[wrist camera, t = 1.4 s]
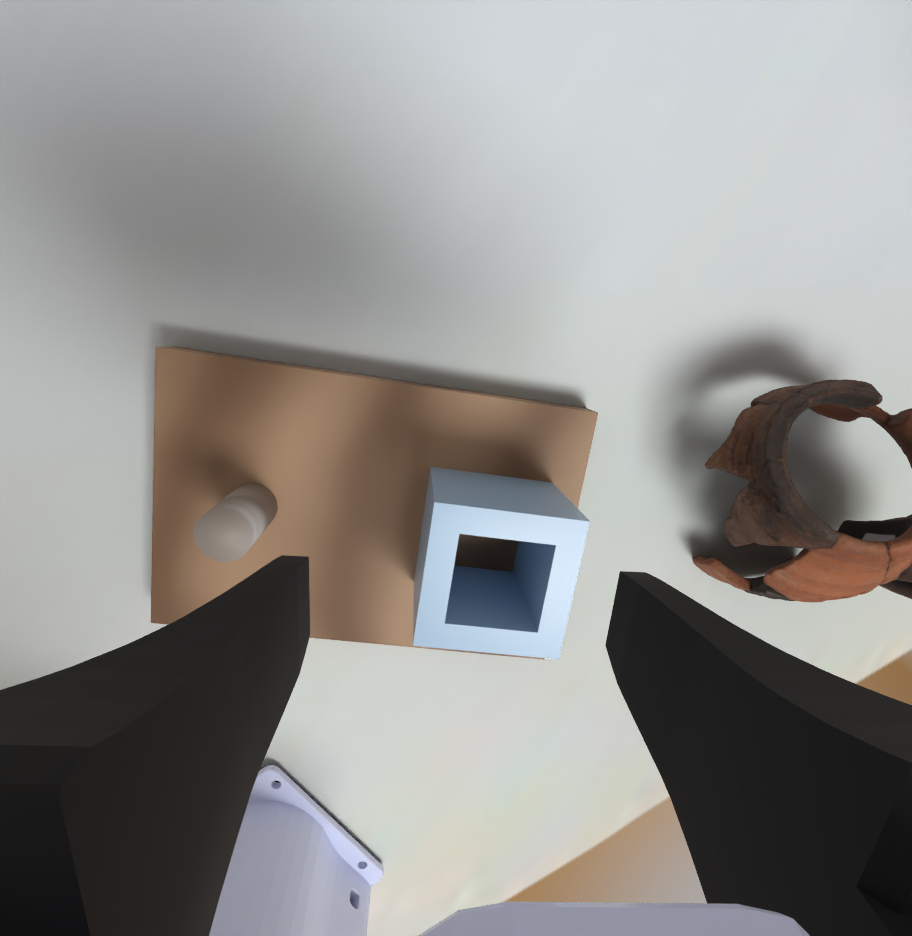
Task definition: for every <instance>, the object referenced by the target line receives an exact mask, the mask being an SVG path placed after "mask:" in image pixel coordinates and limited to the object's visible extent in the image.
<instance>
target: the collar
mask: <svg viewBox="0 0 912 936" xmlns="http://www.w3.org/2000/svg"><path fill="white" fill-rule="evenodd" d="M589 524H590V521H589V520H588V519H587V518H586V517H585V516H584V515H583V514H582V513H581V512H580V511H579V510H578V509H577V508H576V506H575V505H574V504H573V503H572V502H571V501H570V500H569V499H568V498H567V497H566V496H565V495H564V494H563V493H562V492H561V491H560V490H559V489H558V488H557V487H556V486H555V485H554V484H553V483H551V482H544V481H536V480H528V479H521V478H513V477H506V476H498V475H491V474H483V473H475V472H468V471H460V470H453V469H445V468H437V467H430V474H429V481H428V488H427V495H426V501H425V508H424V515H423V522H422V529H421V536H420V543H419V549H418V556H417V563H416V570H415V577H414V599H413V646H420V647H431V648H441V649H452V650H463V651H473V652H484V653H495V654H505V655H516V656H527V657H538V658H548V659H559V657H560V653H561V648H562V644H563V639H564V635H565V630H566V626H567V622H568V617H569V613H570V608H571V604H572V599H573V595H574V591H575V586H576V582H577V577H578V573H579V568H580V564H581V560H582V555H583V551H584V546H585V542H586V537H587V533H588V528H589ZM459 534H465V535H474V536H482V537H490V538H499V539H507V540H516V541H519V542H518V547H517V552H516V557H515V562H514V568H513V572H507V571H498V570H489V569H480V568H471V567H462V566H454V563H455V557H456V551H457V545H458V539H459Z"/></svg>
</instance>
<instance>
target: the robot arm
mask: <svg viewBox="0 0 912 936" xmlns="http://www.w3.org/2000/svg"><path fill="white" fill-rule="evenodd" d="M309 637H310V590H309V557H307V556H286V555H281V556H280V557H278V558H276V559H274V560H273V561H271V562H270V563H268V564H267V565H265V566H264V567H262V568H261V569H259V570H258V571H256V572H255V573H253V574H252V575H250V576H249V577H247V578H246V579H244V580H243V581H241V582H239V583H238V584H236V585H235V586H233V587H232V588H230V589H229V590H227V591H226V592H224V593H223V594H221V595H219V596H218V597H216V598H214V599H213V600H211V601H209V602H207V603H206V604H204V605H202V606H201V607H199V608H197V609H196V610H194V611H192V612H191V613H189V614H187V615H185V616H184V617H182V618H180V619H178V620H176V621H174V622H173V623H171V624H169V625H167V626H165V627H163V628H161V629H159V630H157V631H155V632H153V633H151V634H148V635H146V636H144V637H142V638H140V639H138V640H136V641H134V642H131V643H129V644H127V645H125V646H122V647H120V648H117V649H115V650H112V651H110V652H107V653H105V654H102V655H100V656H97V657H95V658H92V659H90V660H87V661H85V662H82V663H80V664H77V665H75V666H72V667H69V668H67V669H64V670H61V671H58V672H55V673H52V674H49V675H46V676H43V677H40V678H38V679H35V680H31V681H28V682H25V683H22V684H19V685H15V686H12V687H9V688H6V689H3V690H0V936H367V926H368V914H369V902H370V891H371V886H372V885H373V884H375V883H376V882H378V881H379V880H381V879H382V877H383V866H382V865H381V864H380V863H379V862H378V861H377V860H376V859H375V858H374V857H373V856H372V855H371V854H370V853H369V852H368V851H366V850H365V849H364V848H363V847H362V846H361V845H360V844H359V843H358V842H357V841H356V840H355V839H354V838H353V837H352V836H351V835H350V834H348V833H347V832H346V831H345V830H344V829H343V828H342V827H341V826H340V825H339V824H338V823H337V822H336V821H335V820H334V819H333V818H331V817H330V816H329V815H328V814H327V813H326V812H325V811H324V810H323V809H322V808H321V807H320V806H319V805H318V804H317V803H316V802H315V801H313V800H312V799H311V798H310V797H309V796H308V795H307V794H306V793H305V792H304V791H303V790H302V789H301V788H300V787H299V786H298V785H297V784H295V783H294V782H293V781H292V780H291V779H290V778H289V777H288V776H287V775H286V774H285V773H284V772H283V771H282V770H281V769H280V768H278V767H277V766H274V765H268V766H266V767H264V768H263V769H261V770H260V767H261V765H262V762H263V760H264V757H265V755H266V753H267V750H268V748H269V746H270V743H271V741H272V738H273V736H274V734H275V731H276V729H277V727H278V724H279V722H280V719H281V717H282V715H283V712H284V710H285V708H286V705H287V703H288V700H289V698H290V696H291V693H292V691H293V688H294V686H295V683H296V681H297V678H298V676H299V673H300V670H301V666H302V663H303V659H304V656H305V652H306V648H307V644H308V640H309ZM606 648H607V651H608V655H609V658H610V662H611V665H612V668H613V671H614V674H615V677H616V680H617V683H618V686H619V688H620V690H621V692H622V695H623V697H624V699H625V701H626V703H627V705H628V707H629V710H630V712H631V714H632V716H633V718H634V720H635V722H636V724H637V727H638V729H639V731H640V733H641V735H642V737H643V739H644V741H645V743H646V745H647V747H648V749H649V752H650V754H651V756H652V758H653V760H654V762H655V764H656V766H657V768H658V770H659V772H660V775H661V777H662V779H663V781H664V784H665V786H666V788H667V791H668V793H669V795H670V798H671V800H672V803H673V806H674V809H675V811H676V814H677V817H678V820H679V822H680V825H681V828H682V831H683V833H684V836H685V839H686V842H687V845H688V847H689V850H690V853H691V856H692V859H693V862H694V865H695V868H696V871H697V874H698V877H699V880H700V883H701V886H702V889H703V892H704V895H705V898H706V901H707V904H703V903H585V902H579V903H577V902H504V903H498V904H492V905H487V906H481V907H475V908H469V909H463V910H458V911H457V912H455V913H453V914H452V915H450V916H449V917H447V918H445V919H444V920H442V921H441V922H439V923H437V924H436V925H434V926H433V927H431V928H429V929H428V930H426V931H425V932H423V933H421V934H420V935H419V936H912V705H909V704H906V703H903V702H901V701H898V700H895V699H893V698H890V697H887V696H885V695H882V694H879V693H877V692H874V691H872V690H869V689H867V688H864V687H862V686H859V685H857V684H854V683H852V682H849V681H847V680H845V679H842V678H840V677H838V676H835V675H833V674H831V673H828V672H826V671H824V670H822V669H819V668H817V667H815V666H813V665H811V664H809V663H807V662H805V661H803V660H800V659H798V658H796V657H794V656H792V655H790V654H788V653H786V652H784V651H782V650H780V649H778V648H776V647H774V646H772V645H770V644H768V643H766V642H765V641H763V640H761V639H759V638H757V637H756V636H754V635H752V634H750V633H748V632H747V631H745V630H743V629H741V628H739V627H738V626H736V625H734V624H732V623H731V622H729V621H727V620H726V619H724V618H722V617H721V616H719V615H717V614H716V613H714V612H712V611H711V610H709V609H707V608H706V607H704V606H703V605H701V604H699V603H698V602H696V601H694V600H693V599H691V598H690V597H688V596H686V595H685V594H683V593H681V592H680V591H678V590H677V589H675V588H673V587H672V586H670V585H668V584H666V583H665V582H663V581H661V580H659V579H658V578H656V577H654V576H652V575H650V574H648V573H644V572H623V571H620V574H619V579H618V584H617V590H616V595H615V600H614V605H613V610H612V615H611V620H610V625H609V630H608V635H607V640H606ZM259 770H260V771H259ZM275 781H279V783H278V782H275ZM361 861H364V862H361Z"/></svg>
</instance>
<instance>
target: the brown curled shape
mask: <svg viewBox="0 0 912 936" xmlns="http://www.w3.org/2000/svg"><path fill="white" fill-rule="evenodd" d="M881 401H882V395H881V394H880V393H879V392H878V391H877V390H876V389H875V388H874V387H873V385H871V384H869V383H867V382H862V381H856V380H825V381H820V382H815V383H812V384H810V385H808V386H790V387H783V388H779V389H776V390H772V391H770V392H768V393H766V394H763V395H761V396H759V397H757V398H755V399H754V400H753V401H752V402H751V407H750V408H746V409H744V410H743V411H742V412H741V413H740V415H739V416H738V418H737V419H736V422H735V425H734V427H733V428H732V431H731V433H730V435H729V436H728V438H727V439H726V441H725V442H724V443H723V444H722V446H721V447H720V448H719V449H718V450H717V451H716V452H714V453H713V455H712V456H711V457H710V458H709V460H708V461H707V462H706V464H705V467H706V468H709V469H710V468H717V469H721V470H724V471H726V472H728V473H731V474H734V475H737V476H739V477H742V478H744V479H746V480H749V481H750V484H749V485H748V486H747V487H745V488H744V489H742V490H741V491H740V492H739V493H738V494H737V496H736V498H735V500H734V502H733V505H732V509H731V514H730V516H729V517H728V519H727V520H726V521H725V523H724V531H725V533H726V535H727V538H728V540H729V542H730V543H731V544H732V545H733V546H740V545H746V544H751V543H756V544H760V545H766V546H779V545H780V546H788V547H797V548H804V549H803V550H802V551H801V552H800V553H799V554H798V555H797V556H796V557H791V558H790V559H789V560H788V561H787V562H785V563H783V564H781V565H778V566H775V567H773V568H771V569H770V570H769V571H768V572H767V573H766V575H765V576H761V577H756V578H744V577H742V576H740V575H739V574H737V573H735V572H734V571H732V570H731V569H730V568H728V567H727V566H725V565H724V564H723V563H722V562H720V561H719V560H718V559H716V558H709V559H706V558H704V557H700V556H697V557H695V558H694V560H693V561H694V563H695V565H696V566H697V567H699V568H700V569H701V570H702V571H704V572H705V573H707V574H708V575H710V576H712V577H713V578H715V579H717V580H720V581H722V582H725V583H728V584H731V585H732V586H734V587H736V588H739V589H742V590H744V591H746V592H748V593H751V594H756V595H759V596H765V597H768V598H772V599H783V600H788V601H801V602H823V601H825V600H836V599H840V598H842V599H843V598H850V597H854V596H857V595H860V594H865V593H868V592H870V591H872V590H873V589H874V588H876V587H877V586H878V585H879V586H881V587H883V588H886V589H888V590H890V591H892V592H895V593H897V594H900V595H903V596H905V597H908V598H911V599H912V515H909V516H907V517H901V518H894V519H889V520H884V521H851V520H846V521H843V523H842V524H841V526H840V527H839V530H838V531H835V530H834V529H832V528H831V527H830V526H829V525H827V524H826V523H825V522H823V521H822V520H821V519H820V518H818V517H817V516H816V515H815V514H814V513H813V512H812V511H811V510H810V509H809V508H808V507H807V505H806V504H805V503H804V501H803V500H802V498H801V497H800V495H799V494H798V492H797V491H796V489H795V487H794V485H793V483H792V481H791V479H790V477H789V473H788V469H787V466H786V461H785V458H786V453H785V449H786V444H787V438H788V434H789V431H790V428H791V426H792V424H793V422H794V421H795V419H796V418H797V417H798V416H799V415H800V414H801V413H802V412H804V411H805V410H806V409H809V408H811V407H812V409H813V411H815V412H816V413H818V414H821V415H823V416H826V417H829V418H832V419H836V420H839V421H845V422H850V421H853V420H856V419H857V418H859V417H868V418H871V419H872V420H874V421H875V422H876V423H877V424H879V425H880V426H881V427H882V428H884V429H885V430H886V431H887V432H888V433H889V434H890V435H891V436H892V438H893V439H894V440H895V441H896V442H897V444H898V445H899V446H900V447H901V449H902V451H903V453H904V454H905V455H906V456H907V458H908V461H909V463H910V465H911V468H912V408H911V409H907V410H904V411H901V412H899V413H898V414H896V415H889V414H888V413H886V412H885V411H883V410H882V409H881V408H879V407H877V406H876V405H877V404H879V403H881Z"/></svg>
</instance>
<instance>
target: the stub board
mask: <svg viewBox="0 0 912 936" xmlns="http://www.w3.org/2000/svg"><path fill="white" fill-rule="evenodd" d="M597 416H598V413H597V412H595V411H592V410H590V409H587V408H581V407H574V406H567V405H561V404H554V403H547V402H541V401H534V400H527V399H521V398H514V397H507V396H500V395H494V394H487V393H480V392H474V391H467V390H460V389H454V388H447V387H440V386H433V385H427V384H420V383H413V382H407V381H400V380H393V379H387V378H380V377H373V376H366V375H360V374H353V373H346V372H340V371H333V370H326V369H320V368H313V367H306V366H299V365H293V364H286V363H279V362H273V361H266V360H259V359H253V358H246V357H239V356H232V355H226V354H219V353H212V352H206V351H199V350H192V349H185V348H179V347H156V367H155V422H154V478H153V533H152V589H151V623H159V624H171V623H173V622H174V621H176V620H178V619H180V618H182V617H184V616H185V615H187V614H189V613H191V612H192V611H194V610H196V609H197V608H199V607H201V606H202V605H204V604H206V603H207V602H209V601H211V600H213V599H214V598H216V597H218V596H219V595H221V594H223V593H224V592H226V591H227V590H229V589H230V588H232V587H233V586H235V585H236V584H238V583H239V582H241V581H243V580H244V579H246V578H247V577H249V576H250V575H252V574H253V573H255V572H256V571H258V570H259V569H261V568H262V567H264V566H265V565H267V564H268V563H270V562H271V561H273V560H274V559H276V558H278V557H280V556H281V555H286V556H307V557H309V590H310V637H309V638H320V639H331V640H342V641H352V642H363V643H374V644H384V645H395V646H406V647H417V648H427V649H438V650H449V651H459V652H470V653H481V654H492V655H502V656H513V657H524V658H534V659H545V658H538V657H527V656H516V655H505V654H495V653H484V652H473V651H463V650H452V649H441V648H431V647H420V646H413V599H414V577H415V570H416V563H417V556H418V549H419V543H420V536H421V529H422V522H423V515H424V508H425V501H426V495H427V488H428V481H429V474H430V467H437V468H445V469H453V470H460V471H468V472H475V473H483V474H491V475H498V476H506V477H513V478H521V479H528V480H536V481H544V482H551V483H553V484H554V485H555V486H556V487H557V488H558V489H559V490H560V491H561V492H562V493H563V494H564V495H565V496H566V497H567V498H568V499H569V500H570V501H571V502H572V503H573V504H574V505H575V506H576V508H578V503H579V499H580V494H581V489H582V485H583V480H584V476H585V471H586V467H587V462H588V457H589V453H590V448H591V444H592V439H593V434H594V430H595V425H596V421H597ZM518 542H519V541H516V540H507V539H499V538H490V537H482V536H474V535H465V534H459V539H458V545H457V551H456V557H455V563H454V566H462V567H471V568H480V569H489V570H498V571H507V572H513V568H514V562H515V557H516V552H517V547H518Z"/></svg>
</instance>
